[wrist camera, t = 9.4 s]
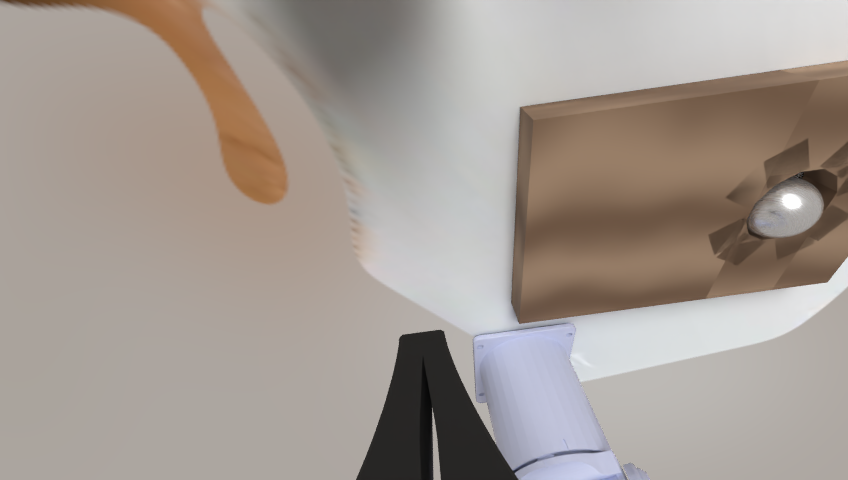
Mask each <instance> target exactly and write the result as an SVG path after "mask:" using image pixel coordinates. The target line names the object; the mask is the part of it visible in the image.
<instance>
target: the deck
mask: <svg viewBox="0 0 848 480" xmlns="http://www.w3.org/2000/svg"><path fill="white" fill-rule="evenodd" d="M800 172H803V174H804V176H803V177H802V179H803V180H805V181H807V182H809V183H811V184H812V185H814V186H815V187H816V188H817V189H818V190H819V192H820V193H821V195H822V197H823V202H824V209H823V212H822V215H821V217H820V218H819V220H818V221H817V222H816V223H815V224H814V225H813V226H812V227H811V228H809V229H808V230H806V231H804V232H802V233H800V234H797V235H794V236H790V237H784V238H770V237H764V236H761V235H758V234H755V233H753V232H751V231H750V230H748V228H747V223H746V220H747V218H748V217H749V215H750V213H751V211H752V209H753V207H754V205H755V203H756V202H757V201H758V200H759V199H761V198H762V197H763V196H764V195H765V194H766V193H767V192H768V191H769V190H770V189H772V188H773V187H774V186H775V185H776V184H778V183H780V182H782V181H784V180H786V179H788V178H790V177H792V176H794V175H796V174H798V173H800ZM847 257H848V61H841V62H834V63H827V64H820V65H813V66H806V67H799V68H792V69H785V70H778V71H771V72H764V73H757V74H750V75H742V76H735V77H728V78H721V79H714V80H707V81H700V82H693V83H686V84H679V85H672V86H665V87H658V88H651V89H644V90H637V91H630V92H623V93H615V94H608V95H601V96H594V97H587V98H580V99H573V100H566V101H559V102H552V103H545V104H538V105H531V106H524V107H520V129H519V150H518V172H517V193H516V214H515V236H514V257H513V279H512V300H511V303H512V305H513V308H514V311H515V313H516V316H517V319H518V322H519V324H522V323H529V322H537V321H544V320H551V319H559V318H566V317H574V316H581V315H588V314H596V313H603V312H611V311H618V310H625V309H633V308H640V307H648V306H655V305H663V304H670V303H677V302H685V301H692V300H700V299H707V298H714V297H722V296H729V295H737V294H744V293H751V292H759V291H766V290H774V289H781V288H789V287H796V286H803V285H811V284H818V283H826V282H828V281H829V280H830V278H831V277H832V276H833V275H834V273H835V272H836V271H837V269H838V268H839V267H840V266H841V264H842V263H843V262H844V261H845V259H846V258H847Z"/></svg>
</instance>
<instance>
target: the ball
mask: <svg viewBox="0 0 848 480" xmlns="http://www.w3.org/2000/svg"><path fill="white" fill-rule="evenodd" d="M823 209H824V202H823V197H822V195H821V193H820V192H819V190H818V189H817V188H816V187H815V186H814V185H812V184H811V183H809V182H807V181H805V180H803V179H800V178H796V177H790V178H788V179H786V180H784V181H782V182H780V183H778V184H776V185H775V186H774V187H773V188H772V189H770V190H769V191H768V192H767V193H766V194H765V195H764V196H763V197H762V198H761V199H759V200H758V201H757V202H756V203H755V205H754V207H753V209H752V211H751V213H750V215H749V217H748V218H747V220H746V223H747V228H748V230H750V231H751V232H753V233H755V234H758V235H761V236H764V237H770V238H784V237H790V236H794V235H797V234H800V233H802V232H804V231H806V230H808V229H809V228H811V227H812V226H813V225H814V224H815V223H816V222H817V221H818V220H819V218H820V217H821V215H822V212H823Z"/></svg>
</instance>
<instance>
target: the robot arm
mask: <svg viewBox="0 0 848 480" xmlns="http://www.w3.org/2000/svg"><path fill="white" fill-rule="evenodd" d="M575 332H576V328H575V326H574V324H571V323H568V324H560V325H553V326H545V327H538V328H531V329H523V330H516V331H508V332H501V333H494V334H486V335H479V336H476V337H474V339H473V353H474V370H475V391H476V401H477V402H479V403H485V402H487V405H488V409H489V414H490V418H491V423H492V427H493V431H494V436H495V440H496V444H495V442H494V441H493V439H492V437H491V436H490V434H489V432H488V430H487V429H486V427H485V425H484V423H483V422H482V420H481V418H480V416H479V414H478V413H477V411H476V409H475V407H474V405H473V403H472V401H471V399H470V397H469V395H468V393H467V391H466V389H465V387H464V385H463V383H462V381H461V379H460V377H459V374H458V372H457V370H456V368H455V365H454V363H453V360H452V357H451V354H450V352H449V349H448V346H447V342H446V338H445V334H444V331H442V330H435V331H428V332H420V333H413V334H405V335H402V336H401V337H400V339H399V347H398V353H397V359H396V363H395V368H394V372H393V376H392V380H391V384H390V387H389V391H388V394H387V398H386V401H385V404H384V408H383V411H382V414H381V417H380V420H379V422H378V425H377V428H376V431H375V434H374V437H373V439H372V442H371V445H370V447H369V450H368V452H367V455H366V458H365V460H364V462H363V465H362V467H361V469H360V472H359V474H358V476H357V479H356V480H433V438H432V437H433V436H432V408H433V413H434V418H435V425H436V431H437V439H438V451H439V462H440V472H441V480H627V477H626V476H625V473H624V471H623V469H622V468H621V466H620V464H619V462H618V460H617V458H616V456H615V455H614V453H613V451H612V450H611V448H610V446H609V444H608V441H607V439H606V437H605V435H604V433H603V431H602V429H601V426H600V424H599V422H598V420H597V418H596V416H595V413H594V411H593V409H592V407H591V405H590V403H589V400H588V398H587V396H586V394H585V392H584V390H583V388H582V385H581V383H580V381H579V379H578V377H577V375H576V372H575V370H574V368H573V366H572V364H571V362H570V360H569V359H570V355H571V350H572V346H573V341H574V337H575ZM623 467H624V469H625V471H626V474H627V476H628V478H629V480H650V478H649V476H648V475H647V473H646V472H645V471H643V470H641V469H640V468H636V467H635V465H634V464H632V463H628V464H625V465H623Z"/></svg>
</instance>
